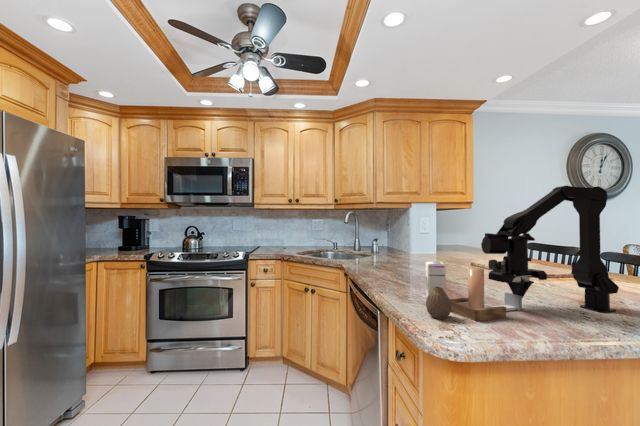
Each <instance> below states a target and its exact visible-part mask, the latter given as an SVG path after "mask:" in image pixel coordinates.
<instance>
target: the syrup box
mask: <svg viewBox="0 0 640 426" xmlns="http://www.w3.org/2000/svg"><path fill="white" fill-rule="evenodd" d="M424 264H425V297H426V298H425V301H426V300H427V297H428V295H429V294H430V293H431V291H432V290H433V288H434V287H442V288H443V290H444V292H445V293H446V294H447V278H446V277H447V275H446V272H447V271H446V268H447V267H446V264H445V263H443V262H441V261H425V263H424Z"/></svg>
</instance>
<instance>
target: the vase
mask: <svg viewBox="0 0 640 426" xmlns="http://www.w3.org/2000/svg"><path fill="white" fill-rule="evenodd" d="M450 299H451V298H449V296H448V294H447V292H446V293H445V292H444V290H443V288H442V287H434V288H433V290H432V291H431V293H430V294H429V295H428V297H427V300H426V299H425V306H426V310H427V313H428V314H429V316H431V318H433V319H437V320H446V319H447V318H448V317H449V316H450V314H451V312H452V311H451V302H450Z"/></svg>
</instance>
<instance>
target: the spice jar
mask: <svg viewBox="0 0 640 426" xmlns="http://www.w3.org/2000/svg"><path fill="white" fill-rule="evenodd" d="M467 293H468V294H467V296H468V297H467V298H468V307H471V308H473V309H480V308H484V304H485V269H484V268H482V267H481V268H480V267H468V268H467Z"/></svg>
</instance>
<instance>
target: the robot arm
mask: <svg viewBox="0 0 640 426" xmlns="http://www.w3.org/2000/svg"><path fill="white" fill-rule="evenodd" d="M608 196H609V195H608V191H607V190H605V189H604V188H603V187H601V186H591V187H584V186H580V187H579V186H571V185H563V186H562V185H560V186H556V187H554V188H553V189H552V190H551V191H550V192H548V193H547V194H546V195H544V196H542V197H541V198H540V199H539V200H537V201H536V202H534V203H532V205H530V206H529V207H528V208H526V209H524V210H522V211H519V212H516V213H514V214H512V215H510V216H507V217H506V218H505V219H504V220H503V224H502V226H501V227H500V228H499V230H498V231H497V232H496V233H489V232H485V233H484V237H483V239H482V241H481V243H480V244H481V250H482V252H483V253H484V254H487V255H504V254H506V255H504V256H503V258H502V260H501V261H500V260H499V261H498V260H497V259H490V260H488V269H490V271H489V272H488V280H491V281H495V282H500V283H504V284H505V283H506V284H507V285H508V287H509V289H510V291H511V294H515V295H519V296H522V299H523V298H524V297H525V295H526V293H527V291H528V290H529V288H531V286H532V284H534V283H535V281H533V280H530V279H531V278H534V279H535V278H536V279H538V280H539V281H547V280H548V273H547V272H546V271H545V270H541V269H536V268H535V269H534V268H529V262H532V257H529V246H528V245H529V244H528V243H529V242H530V241H536V238H534V237H533V236H531V234H530V233H529V232H530V231H531V230H532V229H533V228H534V227H535V226H536V224H537V222H538V221H539V219H540V218H542V217H544V215H546V214H548V212H550V211H552V210H553V209H554V208H556V207H557V206H559V205H560V204H562V202H564V201H566V202H572V205H573V208H574V209H575V211H576V212H577V213H578V218H579V220H578V222H579V223H578V224H579V226H578V227H579V258H577V259H578V260H576V261H572V262H571V264H570V265H571V271H570V274H571V275H572V276H573V277H572V278H573V279H574V280H575V281H576V284H577V286H578V288H582V289H584V304H580V305H579V308H583V309H587V310H592V311H594V312H595V311H596V312H598V313H603V314H604V313H610V312H611V313H612V312H616V311H617V308H616V309H615V308H612V307H611V298H610V297H611V296H610V295H613V294H618V291H619V285H617V283H615V282H614V281H613V280H612V279H611V278H610V276H609V272H608V271H609V270H608V267H607V266H606V265H605V263H604V261H603V260H602V258H601V213H602V212H603V211H604V209H605V208H606V206H607V201H608Z"/></svg>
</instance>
